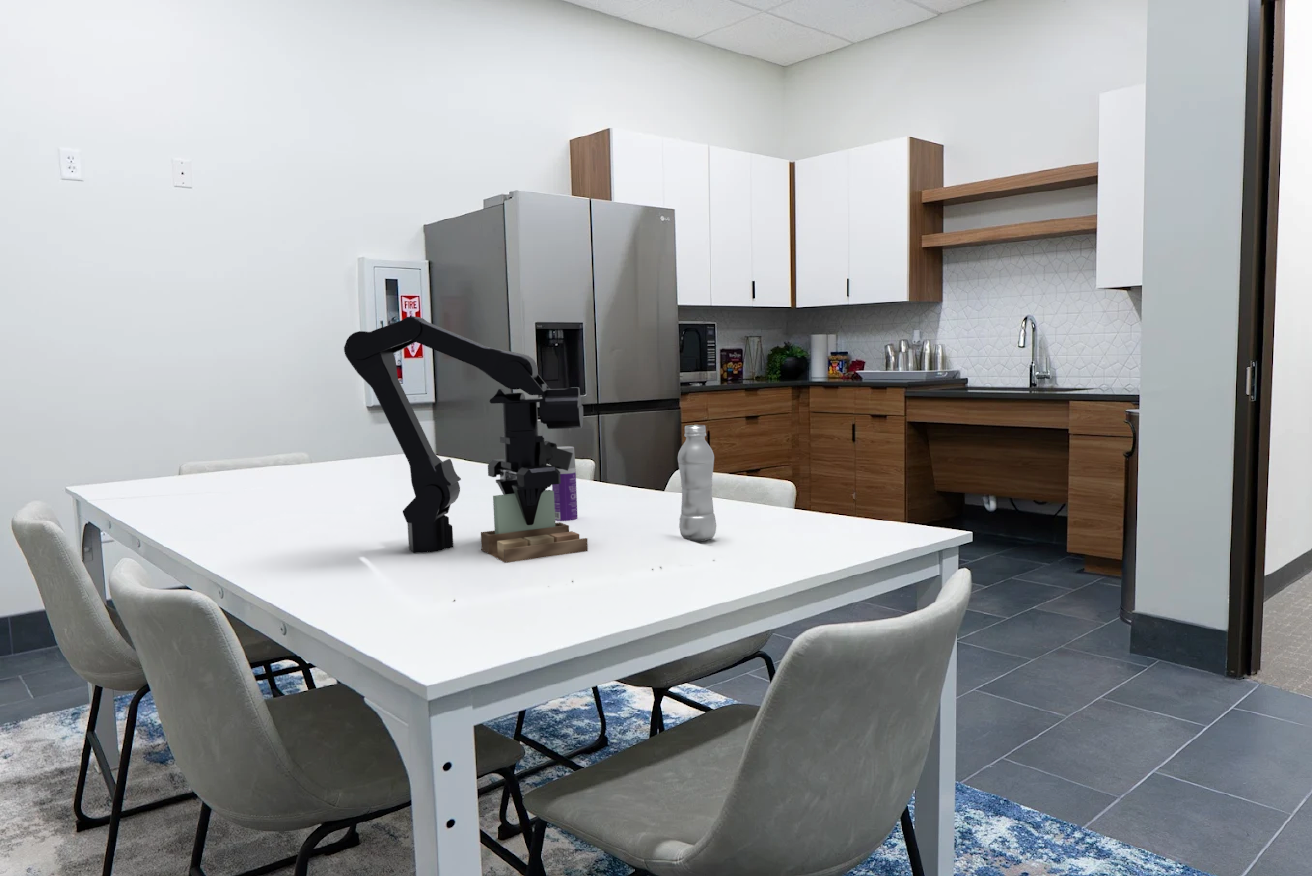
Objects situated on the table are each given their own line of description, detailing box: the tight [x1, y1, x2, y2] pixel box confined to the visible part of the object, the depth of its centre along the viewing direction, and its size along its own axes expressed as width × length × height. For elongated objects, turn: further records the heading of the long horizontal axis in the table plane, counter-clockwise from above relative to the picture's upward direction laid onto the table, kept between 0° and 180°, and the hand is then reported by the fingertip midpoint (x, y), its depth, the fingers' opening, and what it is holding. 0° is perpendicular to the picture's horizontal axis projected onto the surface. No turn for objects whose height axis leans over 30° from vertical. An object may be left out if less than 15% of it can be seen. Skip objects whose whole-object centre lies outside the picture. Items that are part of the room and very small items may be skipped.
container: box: [551, 445, 579, 522], centre depth 178 cm, size 5×5×15 cm
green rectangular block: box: [492, 489, 556, 534], centre depth 153 cm, size 10×2×9 cm, turn 119°
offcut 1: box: [497, 538, 528, 559], centre depth 145 cm, size 4×3×2 cm
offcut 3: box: [550, 530, 580, 542], centre depth 150 cm, size 4×3×2 cm
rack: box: [480, 521, 589, 564], centre depth 150 cm, size 14×12×4 cm
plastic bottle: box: [677, 424, 717, 543], centre depth 157 cm, size 6×7×20 cm
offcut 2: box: [524, 535, 554, 546], centre depth 148 cm, size 4×3×2 cm
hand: (524, 522), depth 153 cm, fingers open, 4 cm apart
